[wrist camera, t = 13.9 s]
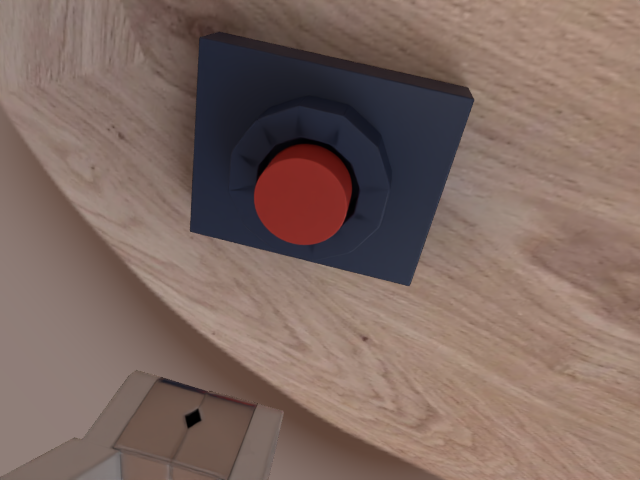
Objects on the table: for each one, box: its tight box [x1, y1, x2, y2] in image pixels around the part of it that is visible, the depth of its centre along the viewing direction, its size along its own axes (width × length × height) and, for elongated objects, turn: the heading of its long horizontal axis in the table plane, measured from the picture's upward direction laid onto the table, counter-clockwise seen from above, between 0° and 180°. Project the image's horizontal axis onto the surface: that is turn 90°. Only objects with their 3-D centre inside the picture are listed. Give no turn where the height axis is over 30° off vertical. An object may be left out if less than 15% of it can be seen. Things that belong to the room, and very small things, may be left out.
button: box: [254, 144, 352, 245], centre depth 19 cm, size 4×4×2 cm
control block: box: [190, 32, 474, 286], centre depth 21 cm, size 11×9×4 cm
